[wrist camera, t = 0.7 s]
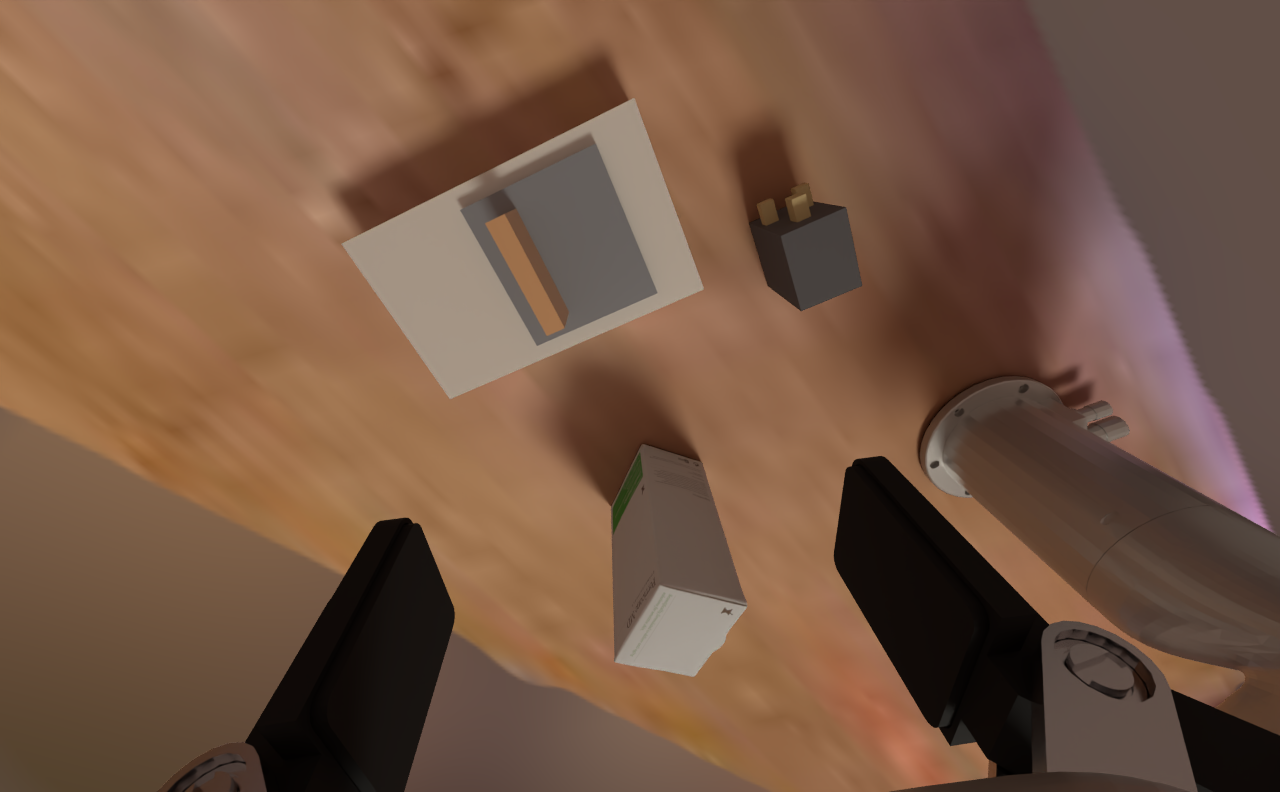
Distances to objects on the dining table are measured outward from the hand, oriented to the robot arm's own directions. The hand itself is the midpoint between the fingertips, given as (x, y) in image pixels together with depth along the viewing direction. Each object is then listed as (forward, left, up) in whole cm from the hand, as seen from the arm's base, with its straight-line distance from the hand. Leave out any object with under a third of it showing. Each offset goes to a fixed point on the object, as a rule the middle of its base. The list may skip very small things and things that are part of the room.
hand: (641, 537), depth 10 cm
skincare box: (+5, +19, -28) cm, 34 cm away
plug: (-12, +3, -28) cm, 30 cm away
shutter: (+2, -4, -23) cm, 24 cm away
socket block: (+5, -4, -28) cm, 28 cm away
